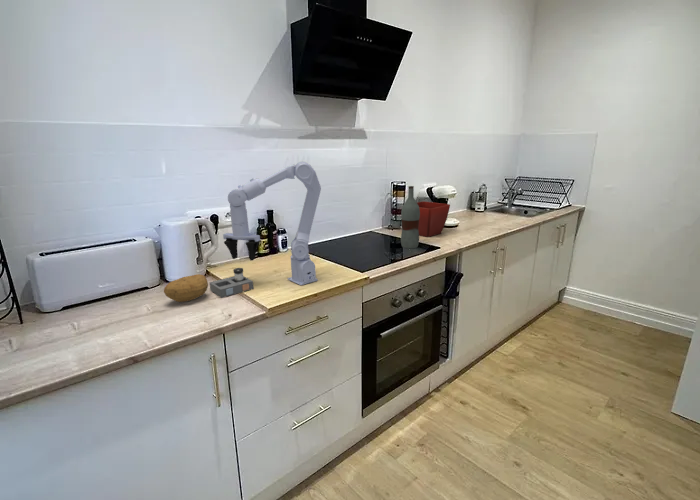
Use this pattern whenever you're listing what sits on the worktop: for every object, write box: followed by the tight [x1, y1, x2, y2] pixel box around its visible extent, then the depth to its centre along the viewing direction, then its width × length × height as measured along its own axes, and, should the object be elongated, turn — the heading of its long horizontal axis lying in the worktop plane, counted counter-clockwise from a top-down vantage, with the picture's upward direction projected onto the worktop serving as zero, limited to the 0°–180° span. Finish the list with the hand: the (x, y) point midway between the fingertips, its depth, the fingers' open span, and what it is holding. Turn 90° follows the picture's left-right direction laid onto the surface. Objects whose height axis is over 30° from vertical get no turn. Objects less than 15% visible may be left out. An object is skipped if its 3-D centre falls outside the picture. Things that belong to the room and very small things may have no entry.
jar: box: [232, 267, 244, 283], centre depth 136 cm, size 3×3×7 cm
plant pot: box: [416, 201, 451, 238], centre depth 212 cm, size 19×19×17 cm
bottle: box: [400, 185, 420, 250], centre depth 184 cm, size 9×9×30 cm
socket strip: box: [208, 275, 254, 299], centre depth 134 cm, size 10×12×3 cm
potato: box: [163, 273, 209, 303], centre depth 125 cm, size 10×14×8 cm
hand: (243, 259), depth 138 cm, fingers open, 7 cm apart
